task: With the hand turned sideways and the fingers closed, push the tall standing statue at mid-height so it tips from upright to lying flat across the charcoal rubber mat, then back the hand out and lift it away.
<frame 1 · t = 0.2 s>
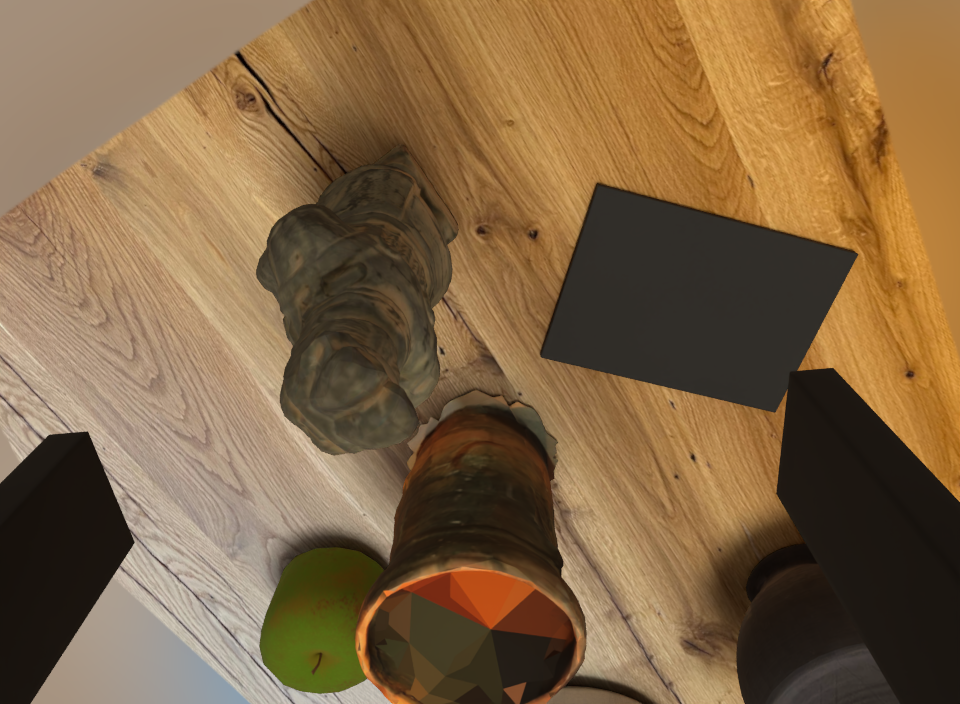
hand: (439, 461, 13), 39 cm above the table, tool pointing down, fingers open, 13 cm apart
pitcher: (783, 592, 67), on the table
vessel: (474, 460, 60), on the table
statue: (389, 215, 51), on the table
apple: (340, 574, 66), on the table
mat: (691, 304, 54), on the table
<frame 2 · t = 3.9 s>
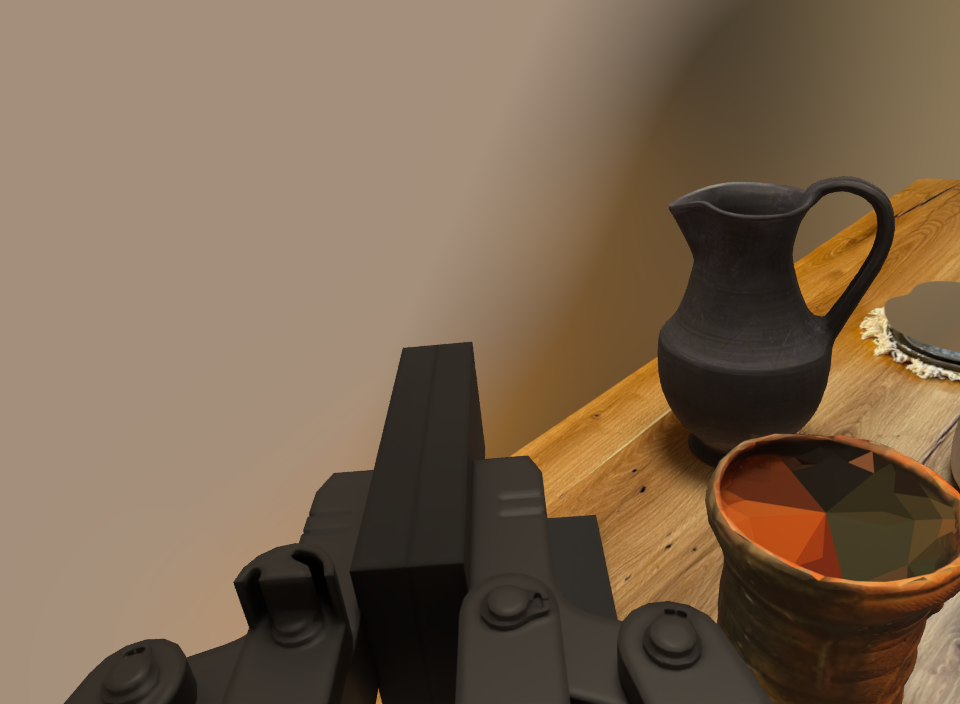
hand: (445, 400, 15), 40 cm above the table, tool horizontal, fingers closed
pitcher: (751, 449, 78), on the table
mat: (531, 600, 62), on the table
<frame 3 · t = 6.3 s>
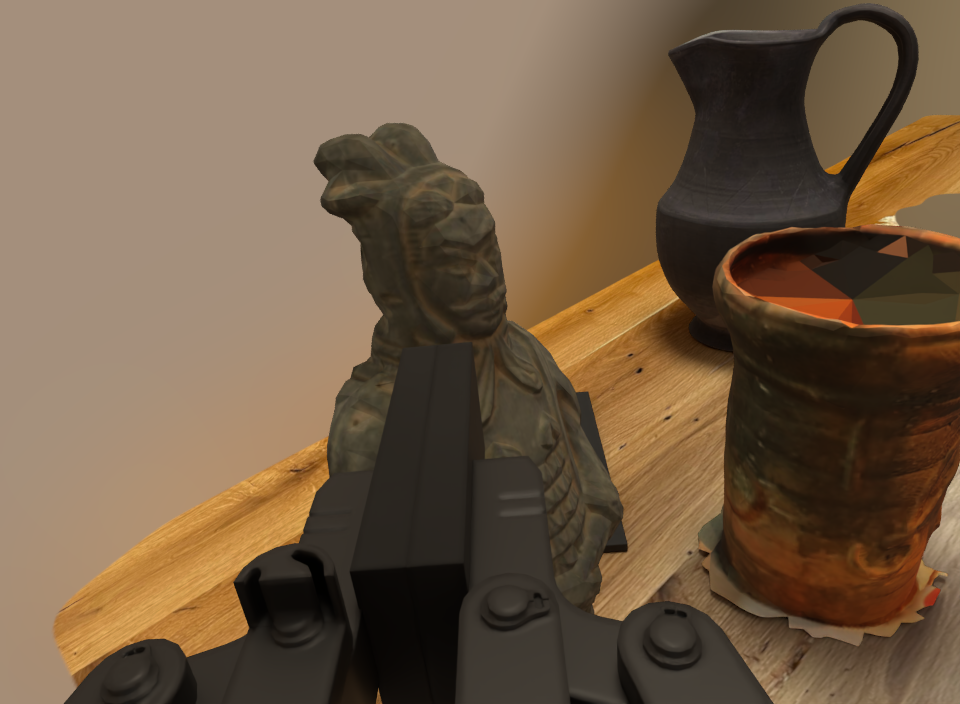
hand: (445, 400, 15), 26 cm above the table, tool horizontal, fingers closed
pitcher: (757, 334, 72), on the table
vessel: (817, 568, 44), on the table
mat: (516, 468, 56), on the table
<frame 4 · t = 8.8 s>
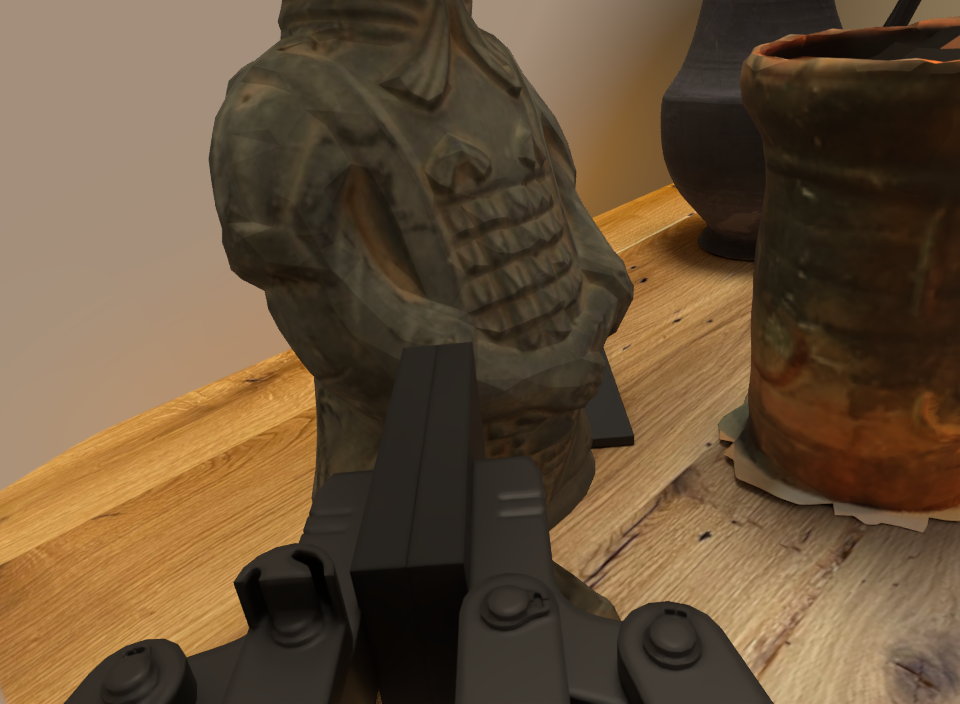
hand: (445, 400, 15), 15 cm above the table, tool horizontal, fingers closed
pitcher: (774, 245, 65), on the table
vessel: (863, 456, 36), on the table
statue: (497, 666, 27), on the table, touching gripper
mat: (504, 370, 48), on the table
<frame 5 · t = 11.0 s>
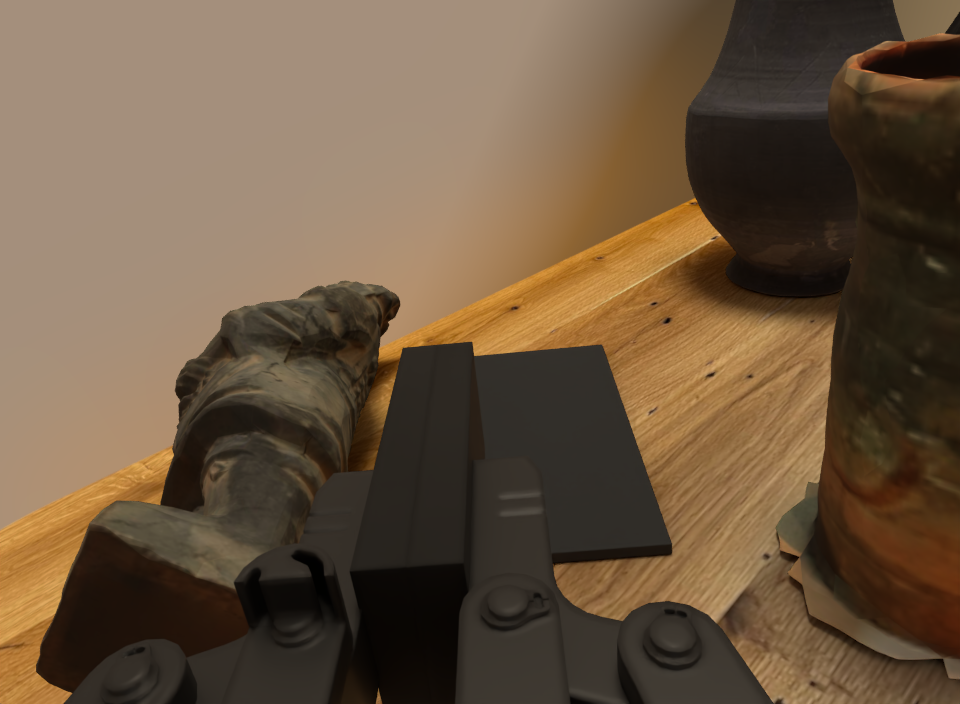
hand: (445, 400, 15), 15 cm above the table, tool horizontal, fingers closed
pitcher: (813, 278, 57), on the table
statue: (153, 656, 22), point 5 cm above the table
mat: (507, 440, 40), on the table
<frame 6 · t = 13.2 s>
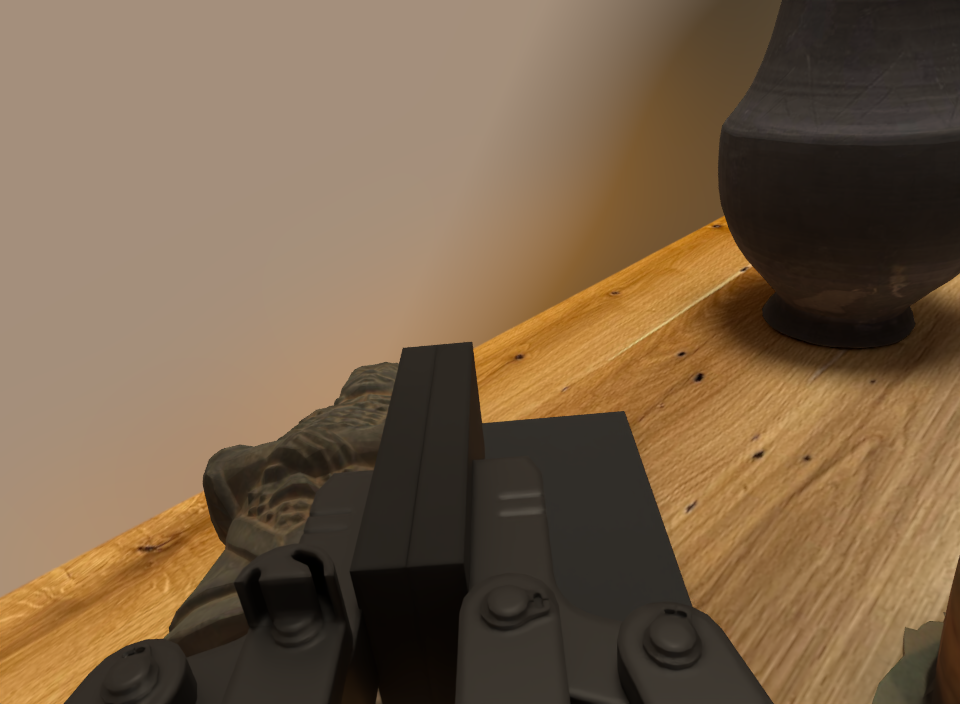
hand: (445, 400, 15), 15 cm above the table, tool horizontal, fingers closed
pitcher: (865, 322, 49), on the table
mat: (512, 547, 32), on the table
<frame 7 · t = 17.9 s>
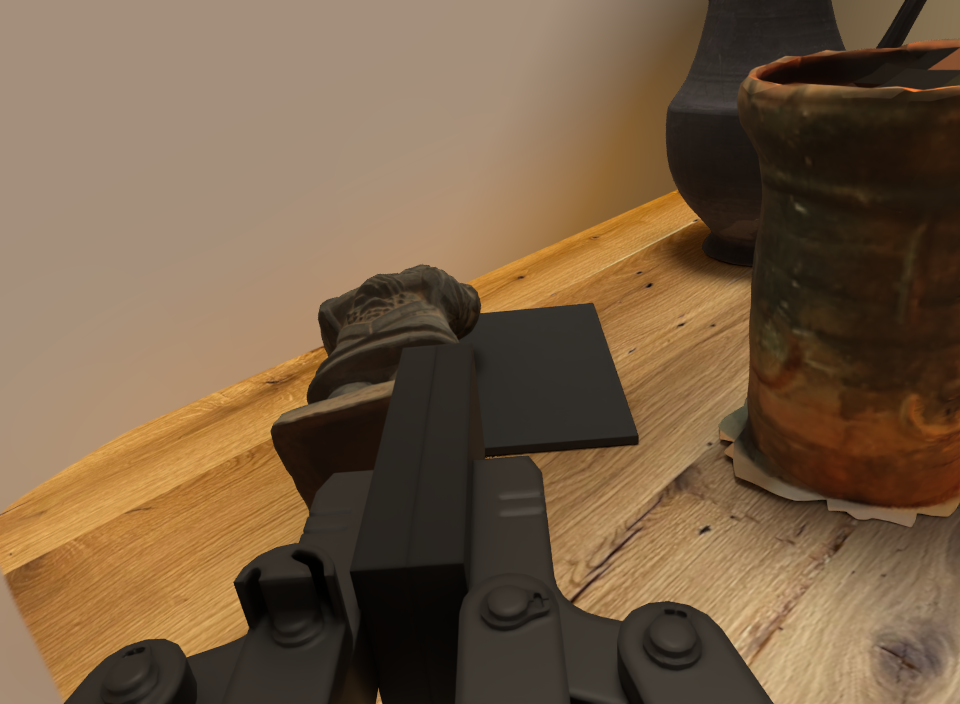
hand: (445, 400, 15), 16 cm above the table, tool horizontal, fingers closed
pitcher: (776, 251, 67), on the table
vessel: (857, 455, 38), on the table
statue: (365, 471, 32), point 5 cm above the table, touching mat
mat: (514, 373, 50), on the table
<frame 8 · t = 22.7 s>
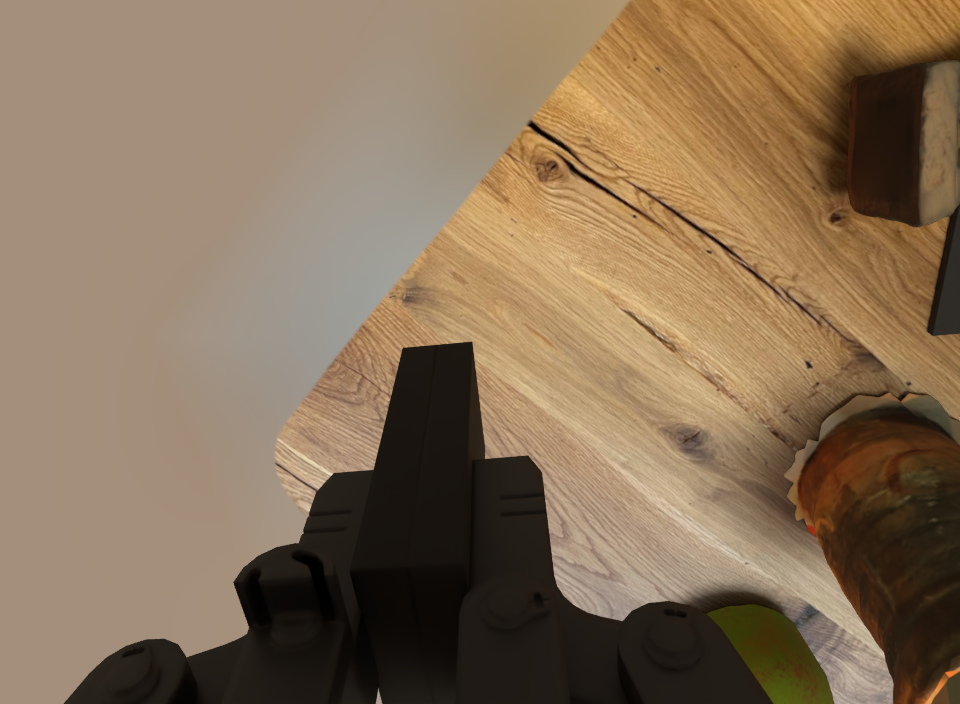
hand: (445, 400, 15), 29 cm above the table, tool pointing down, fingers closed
vessel: (864, 471, 52), on the table
statue: (876, 146, 36), point 5 cm above the table, touching mat
apple: (729, 631, 60), on the table
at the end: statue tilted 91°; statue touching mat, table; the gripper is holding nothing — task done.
